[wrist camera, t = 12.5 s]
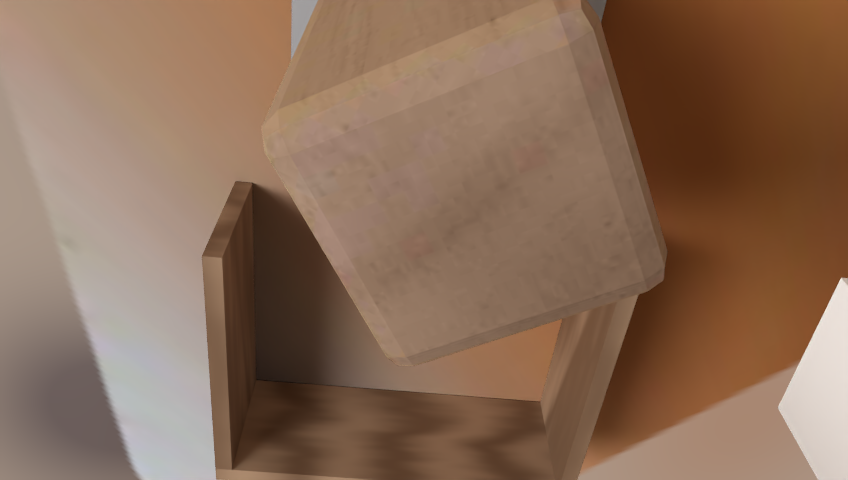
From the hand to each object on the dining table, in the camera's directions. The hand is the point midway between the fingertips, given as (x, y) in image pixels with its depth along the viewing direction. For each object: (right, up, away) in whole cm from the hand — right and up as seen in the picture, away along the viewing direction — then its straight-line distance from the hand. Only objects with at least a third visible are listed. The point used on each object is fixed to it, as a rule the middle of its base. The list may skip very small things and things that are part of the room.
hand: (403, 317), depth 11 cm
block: (+2, +13, +27) cm, 30 cm away
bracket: (-1, -4, +38) cm, 38 cm away
